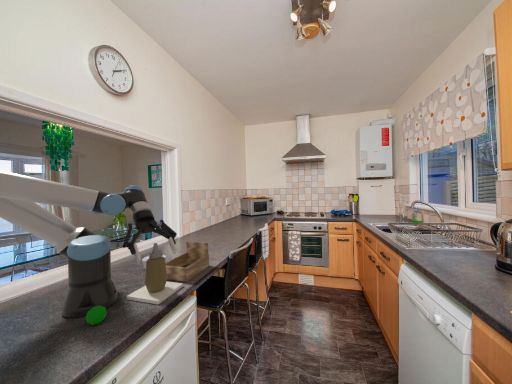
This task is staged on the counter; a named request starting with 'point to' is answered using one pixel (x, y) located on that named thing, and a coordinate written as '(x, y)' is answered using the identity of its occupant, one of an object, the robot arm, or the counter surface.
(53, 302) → the counter surface
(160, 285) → the squeeze bottle
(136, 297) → the cutting board
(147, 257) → the ramekin
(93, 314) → the polyhedron
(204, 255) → the wooden box
